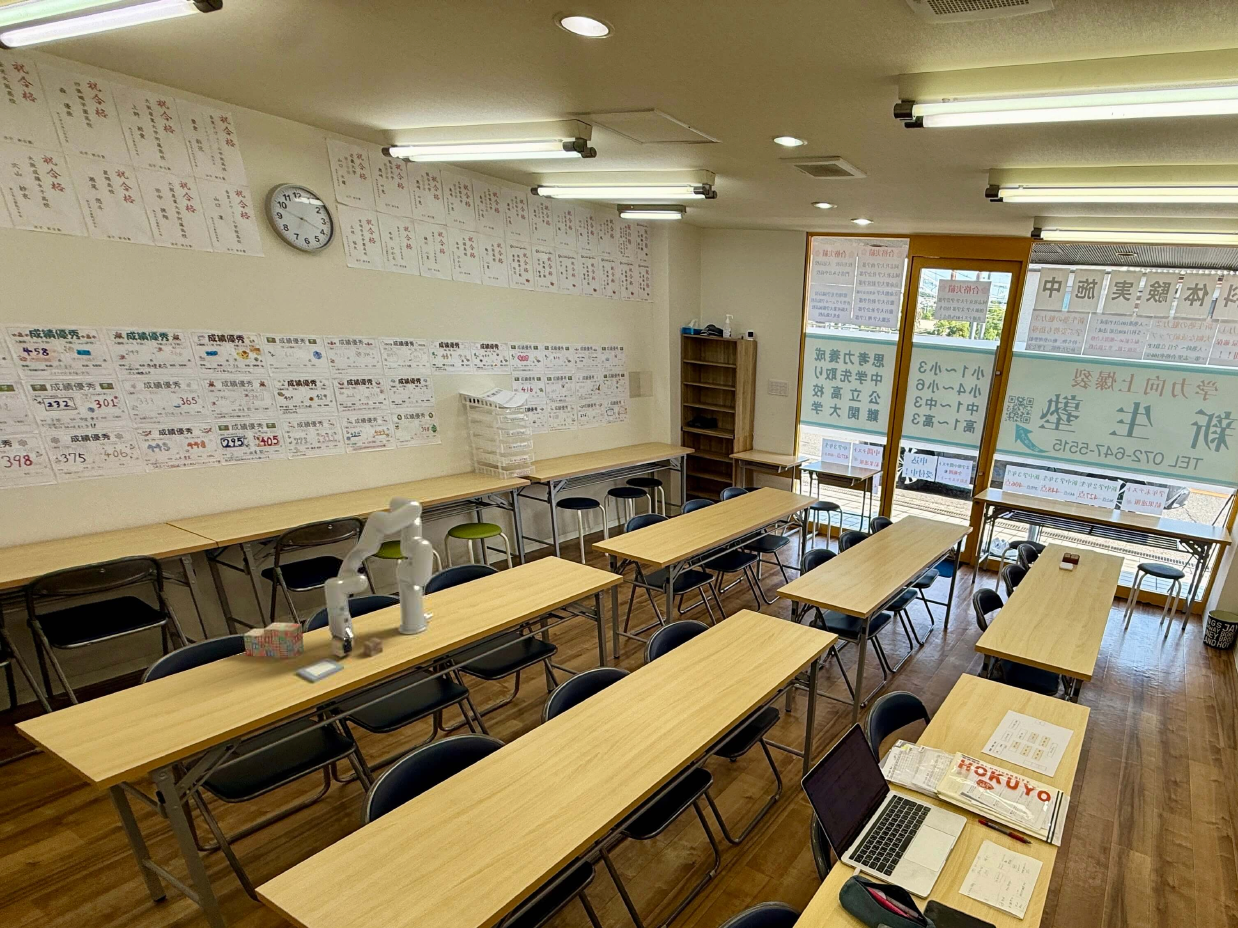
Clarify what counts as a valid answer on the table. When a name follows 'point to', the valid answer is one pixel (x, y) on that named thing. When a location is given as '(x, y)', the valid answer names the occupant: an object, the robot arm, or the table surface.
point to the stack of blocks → (275, 641)
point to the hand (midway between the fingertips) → (343, 649)
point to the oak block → (340, 646)
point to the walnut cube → (373, 647)
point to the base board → (320, 670)
